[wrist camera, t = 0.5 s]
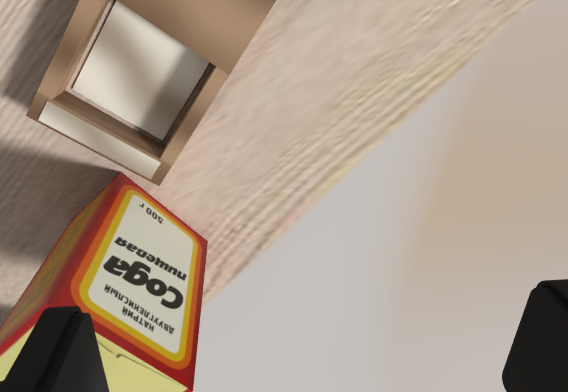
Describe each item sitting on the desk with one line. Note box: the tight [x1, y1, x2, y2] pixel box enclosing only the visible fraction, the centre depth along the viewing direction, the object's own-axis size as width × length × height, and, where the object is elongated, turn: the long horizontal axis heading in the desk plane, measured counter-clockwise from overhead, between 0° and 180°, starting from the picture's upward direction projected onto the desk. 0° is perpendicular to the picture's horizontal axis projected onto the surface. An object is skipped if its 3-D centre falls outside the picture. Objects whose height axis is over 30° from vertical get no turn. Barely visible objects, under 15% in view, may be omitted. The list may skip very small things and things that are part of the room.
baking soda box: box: [0, 172, 208, 392], centre depth 30 cm, size 10×6×16 cm
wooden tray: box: [26, 0, 276, 186], centre depth 28 cm, size 24×10×3 cm, turn 145°
